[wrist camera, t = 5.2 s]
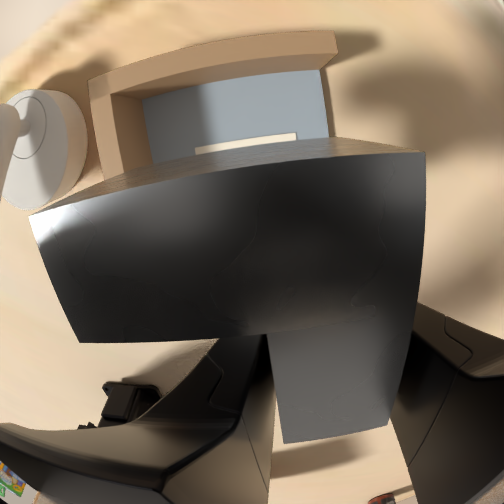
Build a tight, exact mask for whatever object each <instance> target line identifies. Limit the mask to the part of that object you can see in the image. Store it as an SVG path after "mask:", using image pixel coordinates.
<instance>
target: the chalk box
mask: <svg viewBox="0 0 504 504" xmlns="http://www.w3.org/2000/svg"><path fill="white" fill-rule="evenodd" d="M25 485H26V482H25V481H23V480H22V479H21V478H20V477H18V476H17V475H16V474H15V473H14V472H12V471H11V470H10V469H9V468H8V467H7V466H6V465H4V464H3V463H2V462H1V461H0V495H1V496H3V497H4V496H5V488H6V489H7V490H9V491H10V492H12V493H13V494H15V495H17V496H19V497H21V495H22V492H23V490H24V487H25ZM2 488H3V493H2V492H1V489H2Z"/></svg>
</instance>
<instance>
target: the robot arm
mask: <svg viewBox="0 0 504 504" xmlns="http://www.w3.org/2000/svg"><path fill="white" fill-rule="evenodd" d="M102 388H103V390H104V392H105V393H106V395H107V396H108V399H107V402H106V404H105V406H104V408H103V411H102V413H101V416H102V417H101V420H100V422H99V424H98V427H96V426H94V424H92V423H91V422H89V423H88V425H87V426H86V425H79V427H78V429H77V430H59V431H46V430H34V429H28V428H25V427H22V426H19V425H16V424H13V423H0V461H1V462H2V463H3V464H4V465H6V466H7V467H8V468H9V469H10V470H11V471H12V472H14V473H15V474H16V475H17V476H18V477H20V478H21V479H22V480H23V481H25V482H26V483H27V484H28V485H30V486H31V487H32V488H34V489H35V490H37V493H36V495H35V498H34V501H33V503H32V504H268V493H269V483H270V472H271V460H272V448H273V435H274V421H275V406H276V391H275V384H274V378H273V371H272V365H271V359H270V352H269V346H268V339H267V334H257V335H248V336H238V337H227V338H219V339H218V340H217V342H216V343H215V344H214V345H213V346H212V348H211V349H210V350H209V351H208V352H207V354H206V355H205V356H204V357H203V358H202V359H201V360H200V361H199V363H198V364H197V365H196V366H195V367H194V368H193V369H192V370H191V371H190V372H189V374H188V375H187V376H185V377H184V378H183V379H182V380H181V381H180V382H179V383H178V384H177V385H176V386H175V387H174V388H173V389H172V390H170V391H169V392H168V393H167V394H166V395H165V396H164V397H162V395H161V393H160V392H159V390H158V388H157V387H155V386H148V385H122V384H104V385H103V387H102ZM390 419H391V421H392V424H393V427H394V430H395V433H396V435H397V438H398V441H399V444H400V447H401V450H402V453H403V456H404V459H405V462H406V465H407V467H408V472H409V475H410V478H411V481H412V484H413V488H414V491H415V494H416V497H417V501H418V504H504V340H503V339H501V338H498V337H495V336H493V335H490V334H487V333H485V332H482V331H480V330H477V329H475V328H472V327H470V326H468V325H465V324H463V323H461V322H459V321H457V320H454V319H452V318H450V317H448V316H446V317H445V315H444V314H442V313H440V312H438V311H435V310H433V309H431V308H429V307H427V306H425V305H423V304H420V303H418V302H417V305H416V311H415V317H414V323H413V328H412V333H411V338H410V343H409V348H408V352H407V357H406V361H405V365H404V369H403V373H402V377H401V381H400V384H399V388H398V391H397V395H396V398H395V402H394V405H393V408H392V411H391V414H390ZM0 504H7V503H6V502H5V501H3V500H2V499H1V498H0Z"/></svg>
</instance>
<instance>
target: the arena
mask: <svg viewBox="0 0 504 504" xmlns="http://www.w3.org/2000/svg"><path fill="white" fill-rule="evenodd" d="M337 54H338V50H337V45H336V40H335V35H334V31H301V32H285V33H273V34H263V35H254V36H247V37H240V38H233V39H227V40H221V41H216V42H211V43H206V44H201V45H196V46H192V47H188V48H183V49H179V50H175V51H172V52H168V53H164V54H161V55H157V56H154V57H150V58H147V59H144V60H141V61H138V62H135V63H132V64H129V65H126V66H123V67H120V68H117V69H115V70H112V71H109V72H107V73H104V74H102V75H99V76H97V77H94V78H92V79H89V80H87V83H88V91H89V99H90V106H91V113H92V119H93V125H94V131H95V137H96V142H97V148H98V153H99V158H100V162H101V167H102V172H103V176H104V181H105V180H107V179H109V178H112V177H114V176H117V175H119V174H122V173H124V172H127V171H129V170H132V169H134V168H138V167H142V166H146V165H151V164H155V163H159V162H164V161H168V160H173V159H178V158H183V157H188V156H193V155H198V154H203V153H209V152H215V151H220V150H226V149H232V148H239V147H246V146H252V145H260V144H267V143H275V142H284V141H293V140H302V139H313V138H325V137H329V133H328V125H327V117H326V110H325V103H324V96H323V89H322V83H321V77H320V71H319V70H320V69H321V68H322V67H323V66H324V65H325V64H326V63H328V62H329V61H330V60H331V59H332V58H333V57H334V56H336V55H337Z"/></svg>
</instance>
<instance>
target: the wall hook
mask: <svg viewBox="0 0 504 504" xmlns="http://www.w3.org/2000/svg"><path fill="white" fill-rule="evenodd" d="M87 147H88V135H87V127H86V123H85V119H84V116H83V114H82V112H81V110H80V108H79V106H78V105H77V103H76V102H75V101H74V100H73V99H72V98H71V97H70V96H68V95H67V94H65V93H63V92H60V91H55V90H40V89H30V90H25V91H22V92H20V93H18V94H16V95H15V96H13V97H12V98H11V99H10V100H9V101H8V102H7V103H6V104H0V201H1V196H3V197H4V199H5V200H6V201H7V202H8V203H10V204H11V205H13V206H14V207H16V208H19V209H22V210H34V209H37V208H40V207H42V206H44V205H46V204H48V203H50V202H52V201H54V200H56V199H58V198H60V197H62V196H64V195H65V194H66V193H68V192H69V191H70V190H71V189H72V187H73V186H74V185H75V184H76V182H77V180H78V179H79V177H80V175H81V172H82V170H83V167H84V164H85V160H86V155H87Z"/></svg>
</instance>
